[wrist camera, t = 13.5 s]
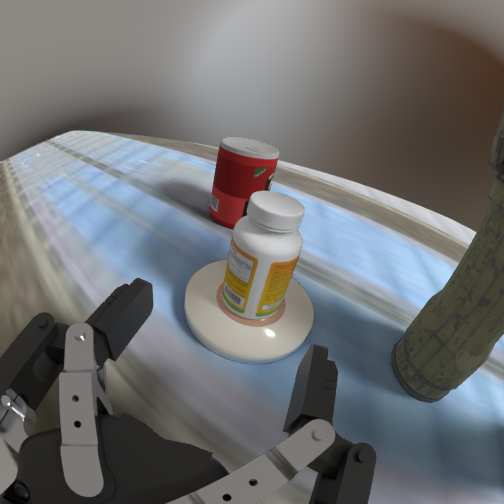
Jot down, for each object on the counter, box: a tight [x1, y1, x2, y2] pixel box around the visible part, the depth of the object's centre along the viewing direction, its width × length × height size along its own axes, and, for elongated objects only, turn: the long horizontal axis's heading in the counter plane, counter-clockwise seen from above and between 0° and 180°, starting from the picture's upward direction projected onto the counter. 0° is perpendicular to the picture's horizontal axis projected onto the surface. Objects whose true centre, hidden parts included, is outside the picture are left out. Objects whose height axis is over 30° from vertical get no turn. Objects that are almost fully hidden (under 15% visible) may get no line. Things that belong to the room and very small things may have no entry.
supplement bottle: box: [222, 191, 304, 320], centre depth 22 cm, size 5×5×10 cm
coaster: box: [184, 259, 314, 364], centre depth 25 cm, size 12×12×2 cm
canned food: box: [210, 137, 279, 229], centre depth 37 cm, size 8×8×11 cm
